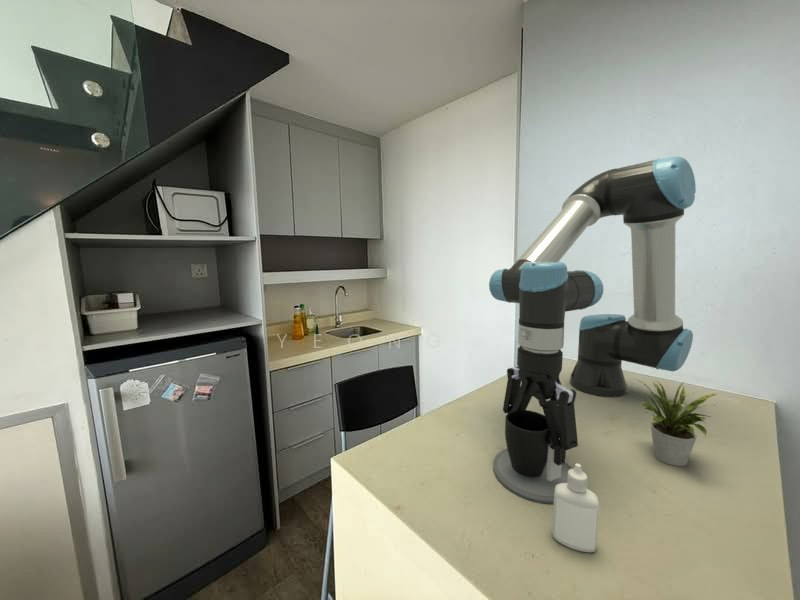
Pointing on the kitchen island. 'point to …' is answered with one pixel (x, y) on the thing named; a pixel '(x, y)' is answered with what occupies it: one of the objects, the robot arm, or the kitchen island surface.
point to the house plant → (674, 426)
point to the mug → (527, 441)
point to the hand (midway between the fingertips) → (534, 463)
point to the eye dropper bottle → (575, 513)
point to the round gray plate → (527, 480)
